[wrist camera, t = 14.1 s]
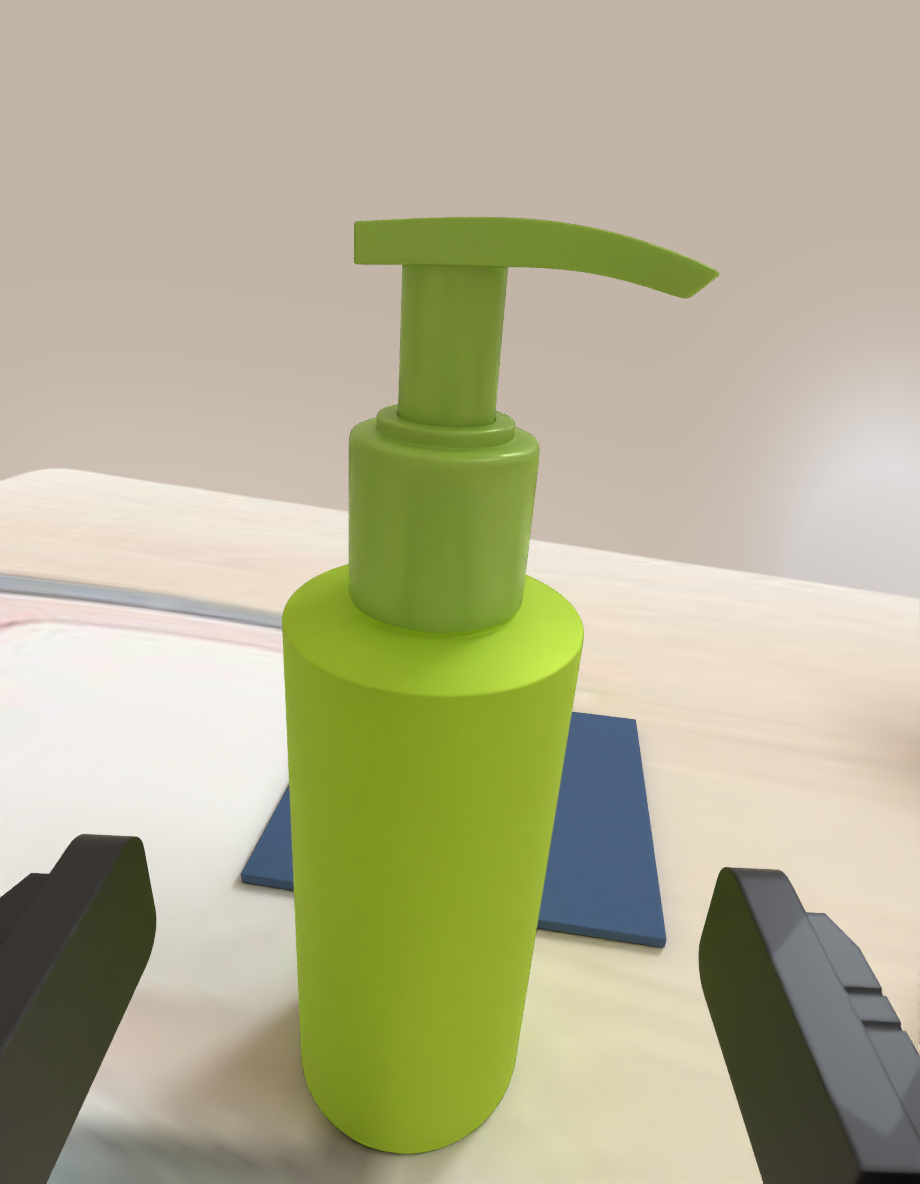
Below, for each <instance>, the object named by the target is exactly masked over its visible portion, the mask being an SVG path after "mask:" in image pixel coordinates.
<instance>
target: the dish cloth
mask: <svg viewBox="0 0 920 1184" xmlns="http://www.w3.org/2000/svg"><path fill="white" fill-rule="evenodd" d="M241 878H242V882H245V883H251V884H258V885H264V886H270V887H277V888H283V889H290V890H294V880H293V858H292V835H291V812H290V790H289V786H288V788H287V790H286V791H285V793H284V795H283V797H282V799H281V801H280V803H279V804H278V806H277V808H276V810H275V812H274V814H273V816H272V817H271V819H270V821H269V823H268V825H267V827H266V829H265V830H264V832H263V834H262V836H261V838H260V840H259V842H258V843H257V845H256V847H255V849H254V851H253V853H252V855H251V857H250V858H249V860H248V862H247V864H246V866H245V868H244V870H243V871H242V873H241ZM537 928H541V929H547V930H554V931H560V932H566V933H573V934H579V935H586V936H592V937H599V938H605V939H611V940H618V941H624V942H631V943H637V944H644V945H650V946H657V947H665V943H666V933H665V926H664V919H663V912H662V905H661V897H660V890H659V883H658V876H657V869H656V862H655V855H654V847H653V840H652V833H651V826H650V819H649V812H648V804H647V797H646V790H645V783H644V776H643V769H642V761H641V754H640V747H639V740H638V733H637V726H636V720H635V719H627V718H619V717H611V716H603V715H594V714H586V713H578V712H572V714H571V720H570V726H569V733H568V739H567V745H566V751H565V757H564V763H563V770H562V776H561V782H560V788H559V794H558V801H557V807H556V813H555V819H554V825H553V831H552V838H551V844H550V850H549V856H548V862H547V869H546V875H545V881H544V887H543V893H542V899H541V906H540V912H539V918H538V924H537Z"/></svg>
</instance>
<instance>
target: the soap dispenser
mask: <svg viewBox="0 0 920 1184" xmlns="http://www.w3.org/2000/svg"><path fill="white" fill-rule="evenodd" d="M354 263H355V264H365V265H366V264H367V265H368V264H370V265H375V264H377V265H379V264H380V265H381V264H382V265H383V264H384V265H402V298H401V331H400V367H399V398H398V405H392V406H389V407H385V408H383V409H381V410H380V411H379V412H378V414H377V417H376V418H372V419H369V420H366V421H363V422H361V423H359V424H357V425H356V426H355V427H354V428H353V429H352V430H351V432H350V437H349V564H347V565H344V566H341V567H337V568H335V569H332V570H329V571H327V572H325V573H322V574H320V575H318V576H316V577H315V578H313V579H311V580H309V581H308V582H306V583H305V584H304V585H302V586H301V587H300V588H299V589H298V590H297V591H296V592H295V593H294V594H293V595H292V596H291V597H290V599H289V600H288V602H287V604H286V606H285V608H284V611H283V616H282V632H283V654H284V677H285V700H286V722H287V745H288V767H289V790H290V812H291V835H292V858H293V880H294V903H295V925H296V948H297V970H298V993H299V1016H300V1038H301V1058H302V1065H303V1071H304V1075H305V1079H306V1082H307V1085H308V1087H309V1090H310V1092H311V1094H312V1096H313V1098H314V1100H315V1102H316V1103H317V1105H318V1106H319V1108H320V1109H321V1111H322V1112H323V1113H324V1115H325V1116H326V1117H327V1118H328V1119H329V1120H330V1121H331V1122H332V1123H333V1124H334V1125H335V1126H336V1127H337V1128H338V1129H339V1130H340V1131H342V1132H343V1133H344V1134H346V1135H347V1136H349V1137H350V1138H352V1139H354V1140H355V1141H357V1142H359V1143H361V1144H363V1145H366V1146H368V1147H371V1148H374V1149H377V1150H381V1151H386V1152H391V1153H402V1154H412V1153H422V1152H428V1151H432V1150H436V1149H439V1148H442V1147H445V1146H448V1145H450V1144H452V1143H454V1142H456V1141H458V1140H460V1139H462V1138H464V1137H465V1136H467V1135H468V1134H470V1133H471V1132H472V1131H474V1130H475V1129H476V1128H477V1127H479V1126H480V1125H481V1124H482V1123H483V1122H484V1121H485V1120H486V1119H487V1118H488V1117H489V1116H490V1114H491V1113H492V1112H493V1111H494V1109H495V1108H496V1107H497V1105H498V1104H499V1102H500V1101H501V1099H502V1097H503V1096H504V1094H505V1092H506V1090H507V1087H508V1085H509V1082H510V1080H511V1077H512V1073H513V1070H514V1065H515V1060H516V1054H517V1048H518V1042H519V1035H520V1029H521V1023H522V1017H523V1011H524V1005H525V998H526V992H527V986H528V980H529V974H530V967H531V961H532V955H533V949H534V943H535V937H536V930H537V924H538V918H539V912H540V906H541V899H542V893H543V887H544V881H545V875H546V869H547V862H548V856H549V850H550V844H551V838H552V831H553V825H554V819H555V813H556V807H557V801H558V794H559V788H560V782H561V776H562V770H563V763H564V757H565V751H566V745H567V739H568V733H569V726H570V720H571V714H572V708H573V702H574V695H575V689H576V683H577V677H578V671H579V665H580V658H581V652H582V646H583V639H584V630H583V624H582V621H581V619H580V616H579V615H578V613H577V611H576V610H575V608H574V607H573V606H572V605H571V604H570V603H569V601H568V600H566V599H565V598H564V597H563V596H562V595H561V594H559V593H558V592H557V591H555V590H554V589H552V588H551V587H549V586H548V585H546V584H544V583H542V582H540V581H538V580H536V579H534V578H532V577H530V576H528V575H526V567H527V558H528V549H529V541H530V532H531V524H532V515H533V506H534V498H535V489H536V481H537V471H538V464H539V452H540V451H539V443H538V441H537V440H536V438H535V437H533V435H531V434H530V433H528V432H526V431H524V430H522V429H520V428H517V427H515V422H514V420H513V419H512V418H511V417H509V416H507V415H505V414H503V413H501V412H497V411H496V399H497V388H498V375H499V365H500V353H501V341H502V331H503V319H504V307H505V297H506V284H507V274H508V267H530V268H549V269H550V268H551V269H562V270H571V271H579V272H586V273H592V274H598V275H603V276H607V277H612V278H616V279H620V280H624V281H628V282H632V283H635V284H639V285H642V286H645V287H649V288H652V289H655V290H658V291H661V292H664V293H667V294H670V295H673V296H677V297H681V298H690V297H692V296H693V295H694V294H696V293H697V292H698V291H700V290H701V289H702V288H704V287H705V286H706V285H708V284H709V283H710V282H711V281H713V280H714V279H715V278H716V277H718V276H719V272H718V271H717V270H715V269H713V268H711V267H709V266H707V265H705V264H703V263H700V262H698V261H696V260H694V259H691V258H689V257H686V256H684V255H681V254H678V253H676V252H673V251H671V250H668V249H665V248H663V247H660V246H657V245H654V244H651V243H648V242H645V241H642V240H638V239H635V238H632V237H628V236H625V235H621V234H617V233H613V232H609V231H605V230H600V229H596V228H592V227H587V226H581V225H576V224H569V223H562V222H555V221H547V220H537V219H525V218H505V217H443V218H416V219H415V218H414V219H393V220H374V221H358V222H355V224H354Z"/></svg>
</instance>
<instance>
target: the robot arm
mask: <svg viewBox="0 0 920 1184" xmlns="http://www.w3.org/2000/svg"><path fill="white" fill-rule="evenodd" d="M155 932H156V910H155V905H154V899H153V894H152V889H151V883H150V878H149V872H148V867H147V862H146V856H145V851H144V846H143V843H142V841H141V839H140V838H138V837H133V836H112V835H92V834H81V835H79V836H77V837H76V838H75V839H74V840H73V841H72V842H71V843H70V845H69V846H68V847H67V849H66V850H65V852H64V853H63V855H62V856H61V858H60V859H59V861H58V862H57V863H56V865H55V866H54V868H53V869H52V871H51V872H50V874H41V873H31V874H29V875H28V876H27V877H26V878H24V879H23V880H22V881H21V882H19V883H18V884H17V885H16V886H14V887H13V888H12V889H11V890H9V891H8V892H7V893H6V894H4V895H3V896H2V897H1V898H0V1184H46V1183H47V1181H48V1179H49V1177H50V1174H51V1172H52V1170H53V1168H54V1166H55V1164H56V1161H57V1159H58V1157H59V1155H60V1153H61V1150H62V1148H63V1146H64V1144H65V1142H66V1140H67V1137H68V1135H69V1133H70V1131H71V1129H72V1126H73V1124H74V1122H75V1120H76V1118H77V1116H78V1113H79V1111H80V1109H81V1107H82V1105H83V1102H84V1100H85V1098H86V1096H87V1094H88V1092H89V1089H90V1087H91V1085H92V1083H93V1081H94V1078H95V1076H96V1074H97V1072H98V1070H99V1068H100V1065H101V1063H102V1061H103V1059H104V1057H105V1054H106V1052H107V1050H108V1048H109V1046H110V1044H111V1041H112V1039H113V1037H114V1035H115V1033H116V1030H117V1028H118V1026H119V1024H120V1022H121V1020H122V1017H123V1015H124V1013H125V1011H126V1009H127V1006H128V1004H129V1002H130V1000H131V998H132V996H133V993H134V991H135V989H136V987H137V985H138V982H139V980H140V978H141V976H142V974H143V972H144V969H145V967H146V965H147V962H148V960H149V957H150V954H151V951H152V947H153V943H154V938H155ZM699 972H700V979H701V984H702V989H703V993H704V996H705V999H706V1002H707V1005H708V1009H709V1012H710V1015H711V1018H712V1021H713V1025H714V1028H715V1031H716V1034H717V1037H718V1040H719V1044H720V1047H721V1050H722V1053H723V1056H724V1060H725V1063H726V1066H727V1069H728V1072H729V1075H730V1079H731V1082H732V1085H733V1088H734V1091H735V1094H736V1098H737V1101H738V1104H739V1107H740V1110H741V1114H742V1117H743V1120H744V1123H745V1126H746V1129H747V1133H748V1136H749V1139H750V1142H751V1145H752V1149H753V1152H754V1155H755V1158H756V1161H757V1164H758V1168H759V1171H760V1174H761V1177H762V1180H763V1184H920V1056H919V1054H918V1052H917V1050H916V1049H915V1047H914V1045H913V1043H912V1041H911V1040H910V1038H909V1036H908V1034H907V1032H906V1031H902V1029H901V1022H900V1020H899V1018H898V1016H897V1015H896V1013H895V1011H894V1009H893V1007H892V1006H891V1004H890V1002H889V1000H888V998H887V997H886V996H883V995H882V988H881V986H880V984H879V982H878V981H877V979H876V977H875V975H874V973H873V972H872V970H871V968H870V966H869V965H868V963H867V961H866V959H865V957H864V956H863V954H862V952H861V950H860V948H859V947H858V946H857V945H856V944H855V943H854V942H853V941H852V940H851V939H850V938H849V937H848V936H847V935H846V934H845V933H844V932H843V931H842V930H841V929H840V928H839V927H838V926H837V925H836V924H835V923H834V922H833V921H832V920H831V919H830V918H829V917H828V916H827V915H826V914H825V913H806V912H805V910H804V908H803V906H802V904H801V902H800V900H799V898H798V896H797V894H796V892H795V890H794V888H793V886H792V884H791V882H790V881H789V879H788V877H787V876H786V875H785V874H784V873H783V872H782V871H780V870H772V869H751V868H730V867H725V868H723V869H722V870H721V871H720V873H719V875H718V878H717V882H716V885H715V889H714V893H713V896H712V900H711V903H710V907H709V911H708V914H707V918H706V921H705V925H704V929H703V932H702V936H701V940H700V945H699Z"/></svg>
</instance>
